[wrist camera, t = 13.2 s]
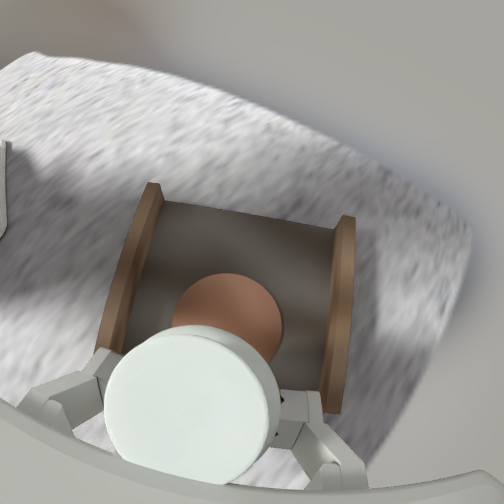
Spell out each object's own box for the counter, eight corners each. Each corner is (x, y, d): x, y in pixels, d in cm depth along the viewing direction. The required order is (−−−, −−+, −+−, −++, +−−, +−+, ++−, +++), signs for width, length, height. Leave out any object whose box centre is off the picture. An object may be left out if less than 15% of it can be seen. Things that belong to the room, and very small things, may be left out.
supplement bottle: (160, 346, 16) (80, 300, 7) (259, 344, 16) (291, 297, 7) (163, 441, 14) (87, 499, 5) (265, 440, 14) (304, 508, 5)
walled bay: (326, 410, 20) (340, 413, 17) (107, 368, 20) (91, 365, 17) (343, 235, 25) (355, 217, 23) (155, 202, 25) (147, 182, 23)
